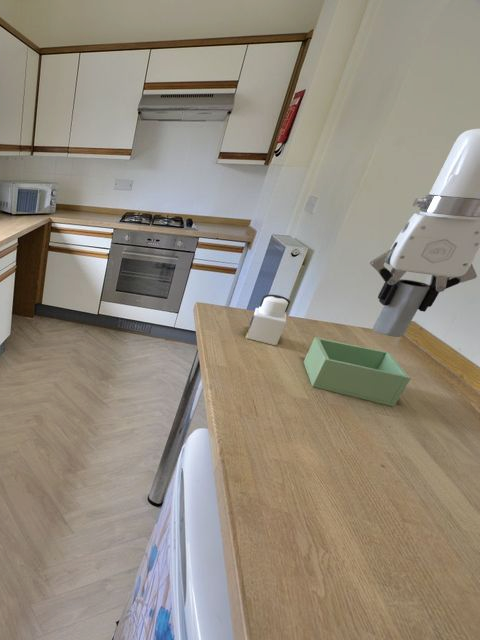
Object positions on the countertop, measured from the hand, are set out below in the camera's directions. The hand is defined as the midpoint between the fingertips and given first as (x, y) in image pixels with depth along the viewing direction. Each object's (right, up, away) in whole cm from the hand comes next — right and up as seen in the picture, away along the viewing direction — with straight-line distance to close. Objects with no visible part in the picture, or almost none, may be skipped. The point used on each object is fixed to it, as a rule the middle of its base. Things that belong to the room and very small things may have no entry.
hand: (401, 305), depth 79 cm
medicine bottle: (-3, -6, +34) cm, 35 cm away
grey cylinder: (0, -5, +3) cm, 6 cm away
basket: (+1, -16, +13) cm, 21 cm away
